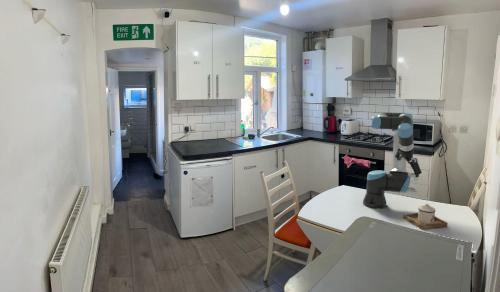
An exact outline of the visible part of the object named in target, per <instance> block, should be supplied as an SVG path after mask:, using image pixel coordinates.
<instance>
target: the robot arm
mask: <svg viewBox="0 0 500 292" xmlns="http://www.w3.org/2000/svg"><path fill="white" fill-rule="evenodd" d="M371 128H372V129H374V130H391V133H392V134H393V145H392V146H393V147H392V165H391V169H390V170H389V173H387V172H386V171H385V170H381V169H380V170H372V171H369V172H368V173H367V177H366V180H367V181H366V191H365V195H364V197H363V199H362V204H363V205H364V206H366V207H367V208H372V209H384V208H386V207H387V199H386V196H385V192H393V193H399V194H400V193H404V194H405V193H407V192H408V191H409V188H410V183H411V177H412V176H411V175H409V172H408V171H407V163H408V164H409V166H410V167H411V170H412V172H413V181H414V182H417V181H418V180H419V177H420V175H421V174H422V173H423V172H422V170H421V168H420V165H419V162H418V158H414V156H413V155H414V153H415V149H414V147H415V145H414V120H413V114H411V113H410V112H409V113H408V112H407V113H406V112H389V111H388V112H383V113H379V114H376V115H374V116H372V117H371Z"/></svg>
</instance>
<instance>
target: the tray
mask: <svg viewBox="0 0 500 292" xmlns="http://www.w3.org/2000/svg"><path fill="white" fill-rule="evenodd" d="M402 219H403V220H405V221H406V222H408V223H409V224H411V225H413V226H416V228H418V227H419V229H420V230H429V229H430V230H431V229H443V228H448V222H447V221H445V220H444V219H441V218H439V217H437V216H435V218H434V224H425V225H422V224H421V223H419V222H418V212H415V213H404V214H403V215H402Z"/></svg>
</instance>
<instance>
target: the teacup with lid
mask: <svg viewBox="0 0 500 292" xmlns="http://www.w3.org/2000/svg"><path fill="white" fill-rule="evenodd" d="M417 211H418V212H417V213H418V222H419V223H421V224H422V225H425V224H434V218H435V217H436V215H435V214H436V208H435V207H433V206H431V205H429V203H425V204H423V205H419V206H418V208H417Z"/></svg>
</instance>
